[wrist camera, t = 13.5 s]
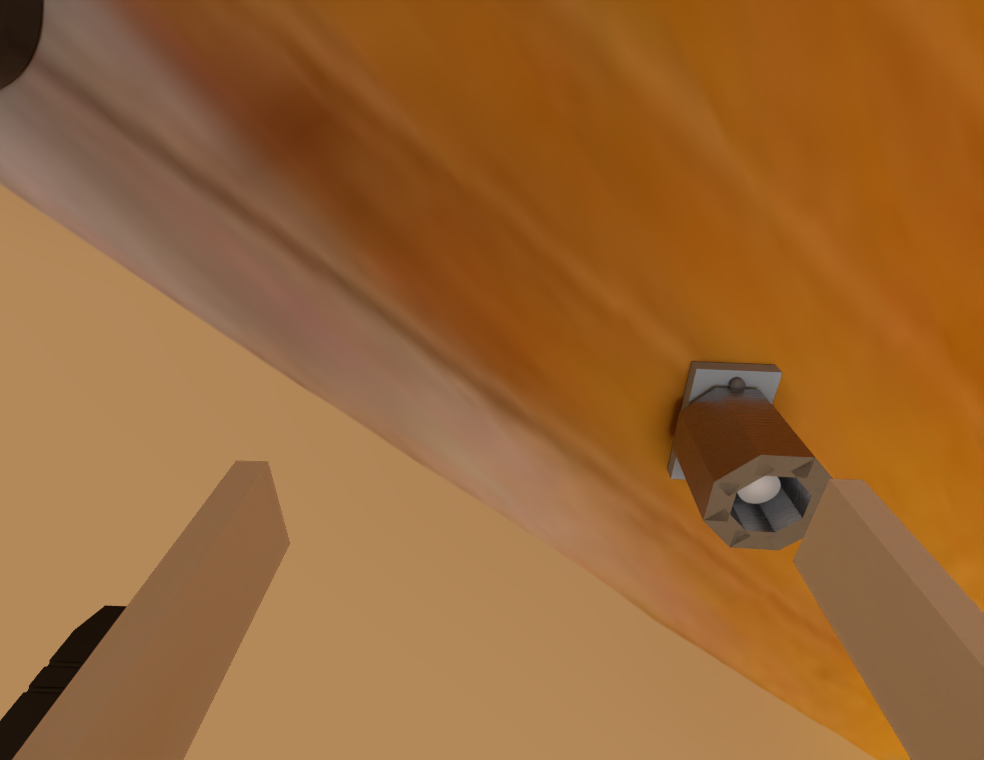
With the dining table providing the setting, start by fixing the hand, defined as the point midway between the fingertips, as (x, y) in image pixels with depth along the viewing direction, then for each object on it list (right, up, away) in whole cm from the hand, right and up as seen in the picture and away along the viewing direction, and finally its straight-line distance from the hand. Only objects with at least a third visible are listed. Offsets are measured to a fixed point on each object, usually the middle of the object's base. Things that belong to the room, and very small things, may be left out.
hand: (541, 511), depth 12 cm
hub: (+16, -1, +26) cm, 30 cm away
